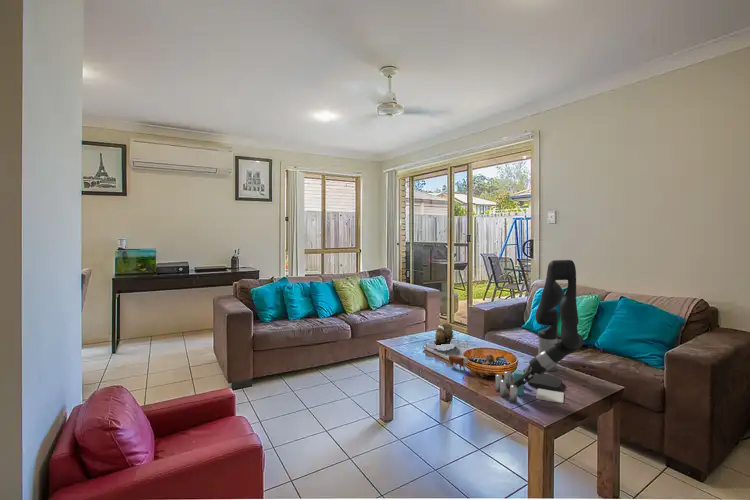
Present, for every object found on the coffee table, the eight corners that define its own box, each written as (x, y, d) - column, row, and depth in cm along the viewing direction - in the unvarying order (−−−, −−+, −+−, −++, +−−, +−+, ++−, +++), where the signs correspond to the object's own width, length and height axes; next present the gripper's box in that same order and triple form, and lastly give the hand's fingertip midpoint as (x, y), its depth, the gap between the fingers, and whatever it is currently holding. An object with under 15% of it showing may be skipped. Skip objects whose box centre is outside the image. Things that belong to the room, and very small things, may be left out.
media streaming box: (559, 393, 173) (559, 387, 173) (526, 386, 181) (526, 380, 181) (562, 382, 186) (563, 376, 186) (531, 376, 193) (531, 371, 193)
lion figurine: (485, 368, 205) (485, 352, 205) (495, 370, 202) (495, 354, 202) (478, 377, 193) (478, 360, 192) (488, 379, 190) (488, 362, 189)
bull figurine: (466, 373, 198) (466, 358, 197) (447, 366, 208) (447, 352, 208) (471, 371, 200) (471, 357, 200) (452, 365, 211) (452, 350, 211)
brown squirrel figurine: (444, 342, 254) (444, 318, 253) (459, 346, 246) (459, 321, 245) (428, 348, 241) (428, 322, 240) (444, 353, 233) (444, 326, 232)
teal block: (514, 390, 176) (514, 370, 175) (523, 392, 174) (524, 371, 173) (513, 394, 172) (513, 373, 172) (523, 395, 170) (523, 374, 170)
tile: (537, 389, 177) (537, 388, 177) (563, 393, 172) (563, 392, 172) (535, 398, 167) (535, 397, 167) (563, 403, 162) (563, 402, 162)
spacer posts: (499, 380, 188) (499, 366, 188) (522, 384, 183) (522, 370, 183) (490, 398, 168) (490, 383, 168) (516, 403, 163) (516, 388, 162)
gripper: (537, 351, 175) (512, 371, 181) (535, 360, 162) (507, 381, 168) (550, 364, 173) (523, 383, 179) (548, 374, 160) (520, 395, 166)
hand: (515, 382), depth 173 cm, fingers open, 8 cm apart
